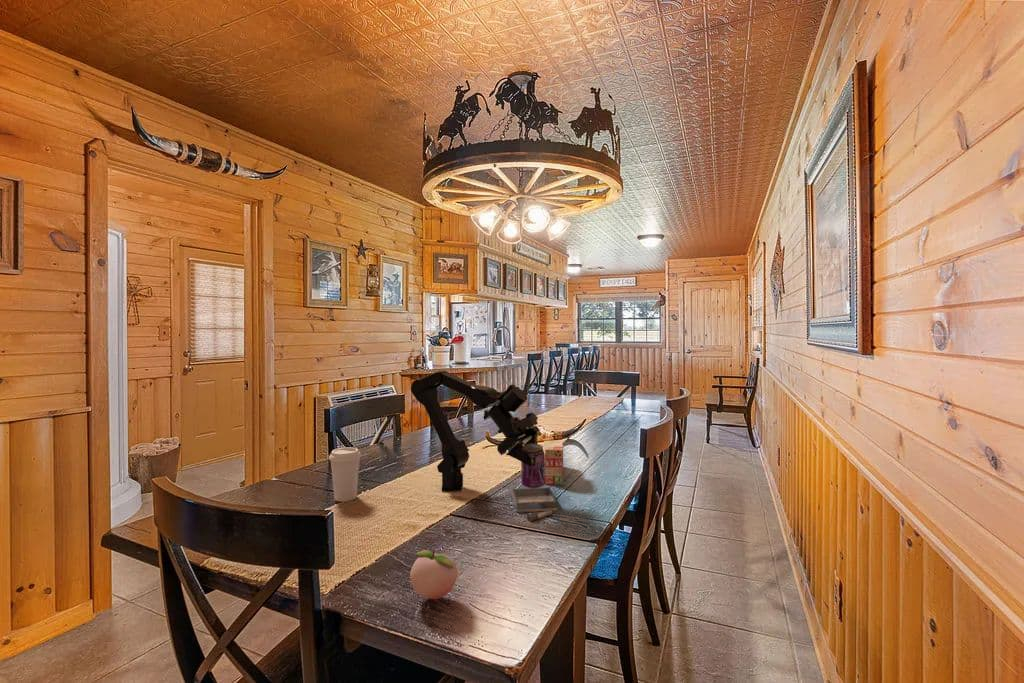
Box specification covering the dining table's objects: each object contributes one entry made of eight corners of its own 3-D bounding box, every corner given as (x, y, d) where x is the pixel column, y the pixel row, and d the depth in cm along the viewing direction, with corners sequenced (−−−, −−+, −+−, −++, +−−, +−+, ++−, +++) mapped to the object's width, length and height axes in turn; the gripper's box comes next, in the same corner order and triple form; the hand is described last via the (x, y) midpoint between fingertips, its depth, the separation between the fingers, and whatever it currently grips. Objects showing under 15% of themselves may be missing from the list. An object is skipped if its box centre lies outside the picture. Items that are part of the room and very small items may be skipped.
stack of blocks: (545, 466, 182) (545, 434, 182) (561, 466, 182) (561, 434, 182) (544, 484, 161) (544, 448, 161) (563, 485, 161) (563, 449, 160)
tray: (516, 511, 137) (516, 503, 137) (511, 496, 149) (511, 489, 149) (557, 510, 138) (557, 501, 138) (549, 495, 151) (549, 487, 150)
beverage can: (537, 492, 139) (537, 452, 137) (517, 487, 142) (516, 448, 141) (549, 483, 145) (548, 445, 143) (529, 478, 148) (528, 441, 147)
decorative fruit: (400, 606, 91) (400, 555, 90) (423, 584, 98) (423, 537, 98) (443, 617, 87) (443, 564, 87) (463, 594, 95) (463, 545, 95)
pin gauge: (531, 522, 130) (531, 515, 130) (526, 520, 131) (526, 513, 131) (553, 515, 134) (553, 508, 134) (548, 513, 136) (548, 506, 136)
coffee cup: (367, 497, 148) (366, 450, 148) (338, 506, 141) (337, 456, 141) (352, 490, 155) (351, 445, 154) (323, 498, 148) (323, 450, 147)
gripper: (506, 409, 135) (541, 453, 131) (534, 400, 152) (566, 439, 147) (483, 433, 139) (515, 476, 135) (513, 422, 156) (542, 460, 151)
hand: (536, 461), depth 142 cm, fingers closed on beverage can, 7 cm apart
